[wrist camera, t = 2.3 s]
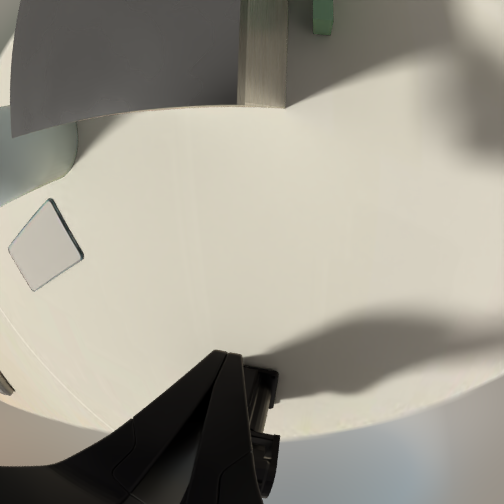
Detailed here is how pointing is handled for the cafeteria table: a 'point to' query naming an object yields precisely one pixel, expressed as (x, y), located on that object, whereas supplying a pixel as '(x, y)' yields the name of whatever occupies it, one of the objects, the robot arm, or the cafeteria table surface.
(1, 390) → the emblem
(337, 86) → the cafeteria table surface
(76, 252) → the smartphone
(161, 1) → the tin
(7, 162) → the round-topped grey cylinder
